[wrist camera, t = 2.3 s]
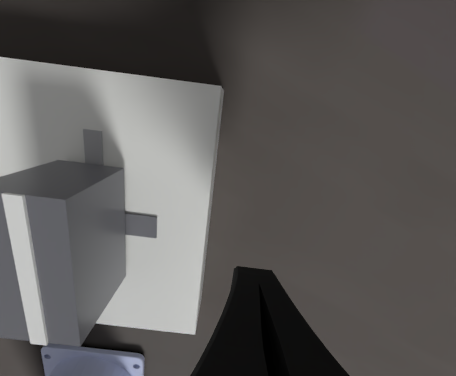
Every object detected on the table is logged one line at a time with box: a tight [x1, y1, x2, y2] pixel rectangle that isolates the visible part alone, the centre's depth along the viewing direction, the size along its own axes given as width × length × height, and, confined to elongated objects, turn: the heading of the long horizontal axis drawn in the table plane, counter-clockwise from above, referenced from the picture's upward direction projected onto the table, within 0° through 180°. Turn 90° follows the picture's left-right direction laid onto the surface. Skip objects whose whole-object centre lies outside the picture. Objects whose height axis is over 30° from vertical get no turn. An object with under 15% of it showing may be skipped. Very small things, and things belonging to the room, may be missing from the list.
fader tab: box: [0, 160, 126, 347], centre depth 10 cm, size 6×3×4 cm, turn 173°
